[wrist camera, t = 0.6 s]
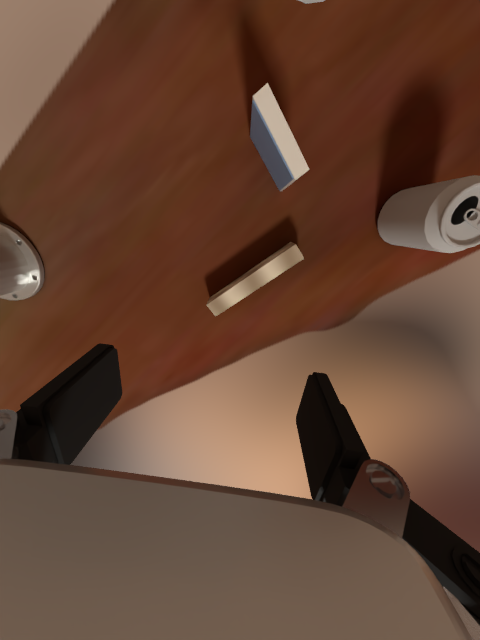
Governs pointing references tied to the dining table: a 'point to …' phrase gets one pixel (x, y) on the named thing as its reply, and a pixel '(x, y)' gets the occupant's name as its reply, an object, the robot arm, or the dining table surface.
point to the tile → (275, 140)
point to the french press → (311, 1)
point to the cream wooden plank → (255, 278)
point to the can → (434, 216)
